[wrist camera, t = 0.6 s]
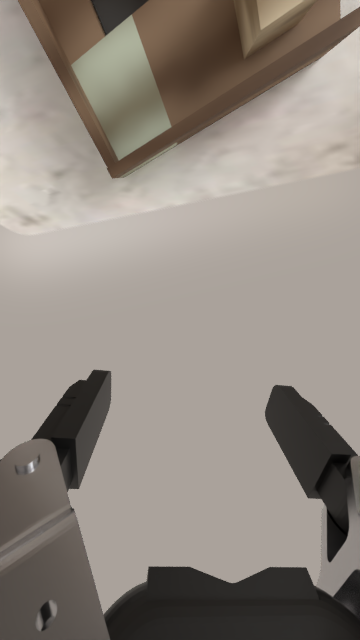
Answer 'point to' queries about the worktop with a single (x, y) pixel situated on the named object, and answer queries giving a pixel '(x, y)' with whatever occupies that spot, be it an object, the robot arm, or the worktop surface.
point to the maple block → (267, 20)
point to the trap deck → (167, 66)
